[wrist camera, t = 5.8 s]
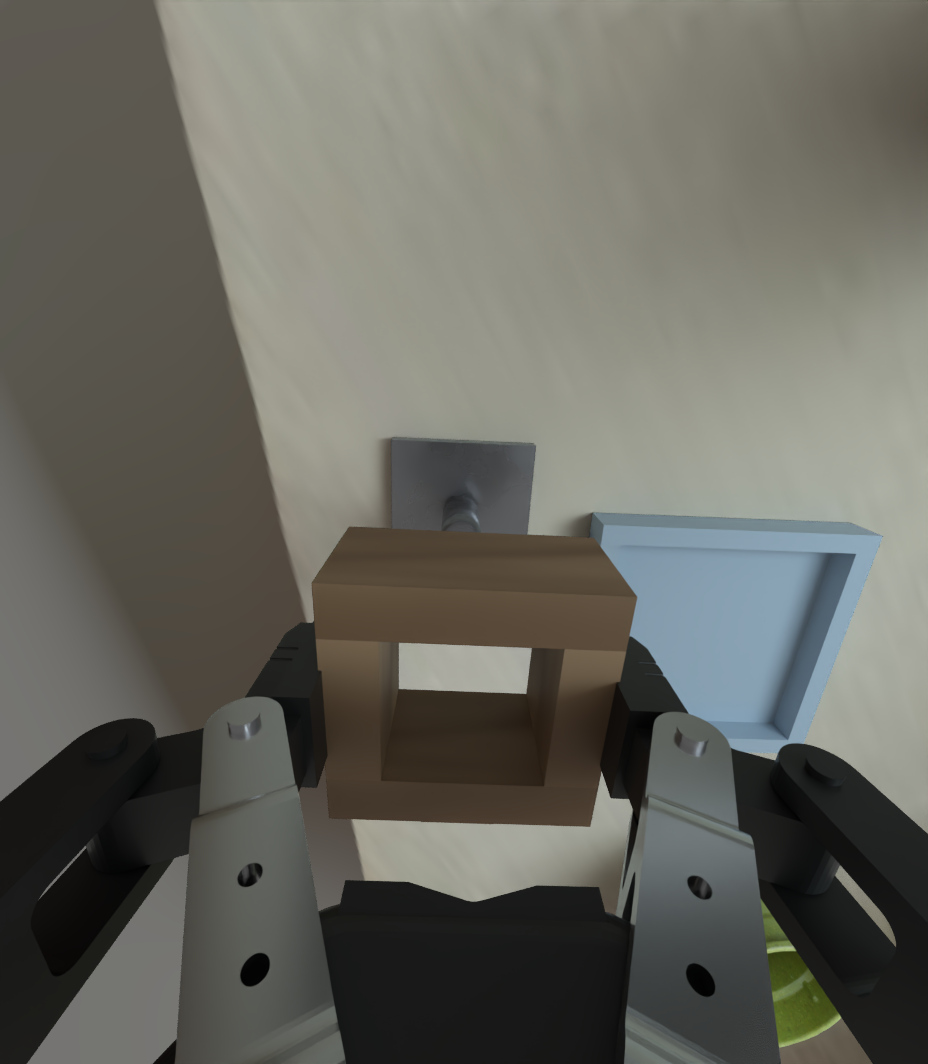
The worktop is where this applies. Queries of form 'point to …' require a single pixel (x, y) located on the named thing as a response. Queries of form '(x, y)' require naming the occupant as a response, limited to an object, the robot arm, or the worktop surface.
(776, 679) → the tray
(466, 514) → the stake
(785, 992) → the plant pot
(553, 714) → the brown hollow rectangular frame
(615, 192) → the worktop surface
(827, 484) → the worktop surface
